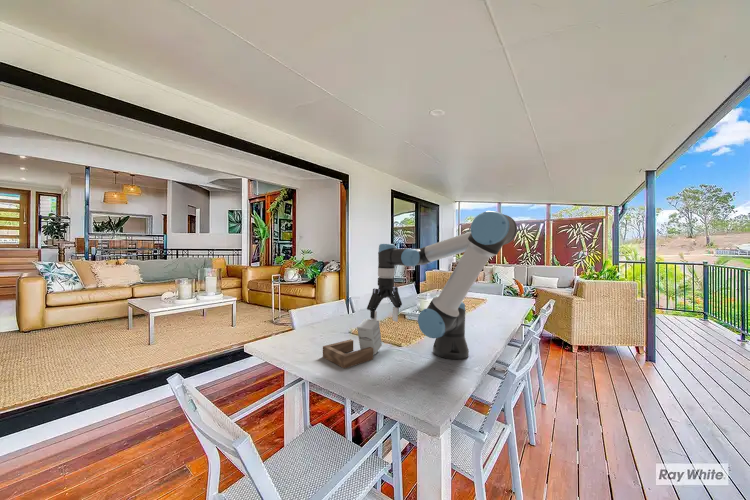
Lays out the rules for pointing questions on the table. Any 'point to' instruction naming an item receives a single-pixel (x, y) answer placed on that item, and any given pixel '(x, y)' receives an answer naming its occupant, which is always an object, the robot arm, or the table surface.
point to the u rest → (339, 357)
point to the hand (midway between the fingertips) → (384, 323)
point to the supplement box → (369, 335)
